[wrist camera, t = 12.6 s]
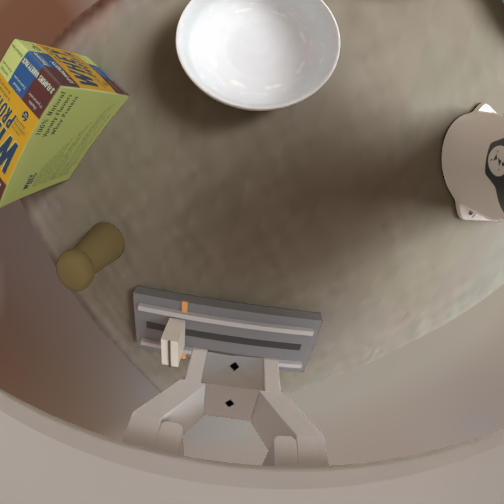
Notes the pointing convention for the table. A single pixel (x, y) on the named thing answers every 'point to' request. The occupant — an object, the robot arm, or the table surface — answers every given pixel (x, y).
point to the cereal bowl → (258, 50)
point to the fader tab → (173, 342)
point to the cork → (89, 256)
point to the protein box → (49, 115)
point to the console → (227, 327)
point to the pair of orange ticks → (184, 309)
